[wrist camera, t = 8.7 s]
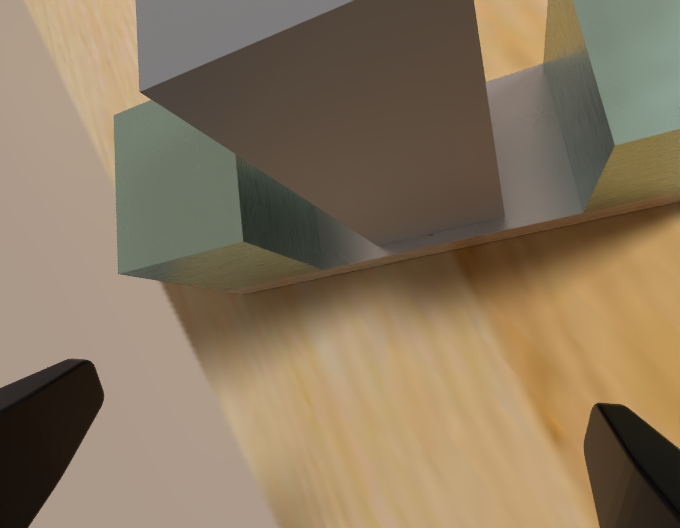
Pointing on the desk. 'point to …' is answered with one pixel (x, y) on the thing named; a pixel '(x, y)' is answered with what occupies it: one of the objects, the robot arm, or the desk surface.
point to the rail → (359, 253)
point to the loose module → (337, 102)
